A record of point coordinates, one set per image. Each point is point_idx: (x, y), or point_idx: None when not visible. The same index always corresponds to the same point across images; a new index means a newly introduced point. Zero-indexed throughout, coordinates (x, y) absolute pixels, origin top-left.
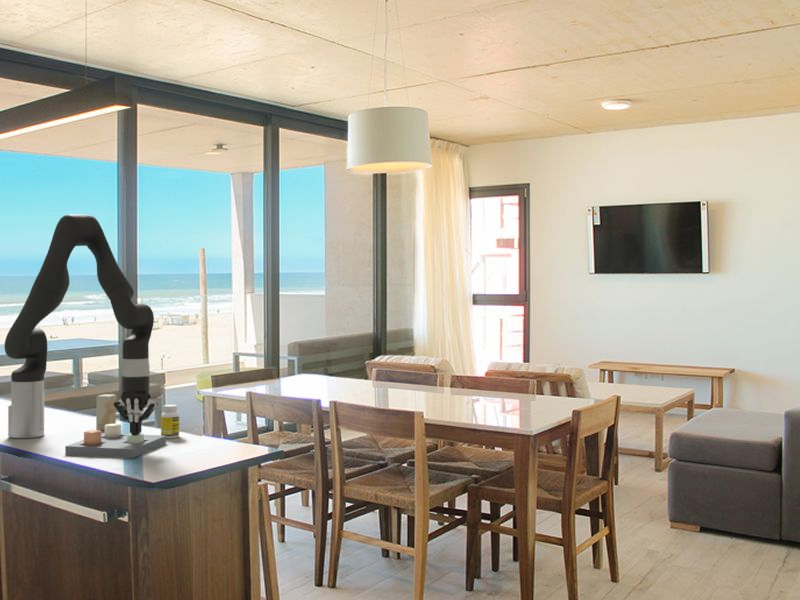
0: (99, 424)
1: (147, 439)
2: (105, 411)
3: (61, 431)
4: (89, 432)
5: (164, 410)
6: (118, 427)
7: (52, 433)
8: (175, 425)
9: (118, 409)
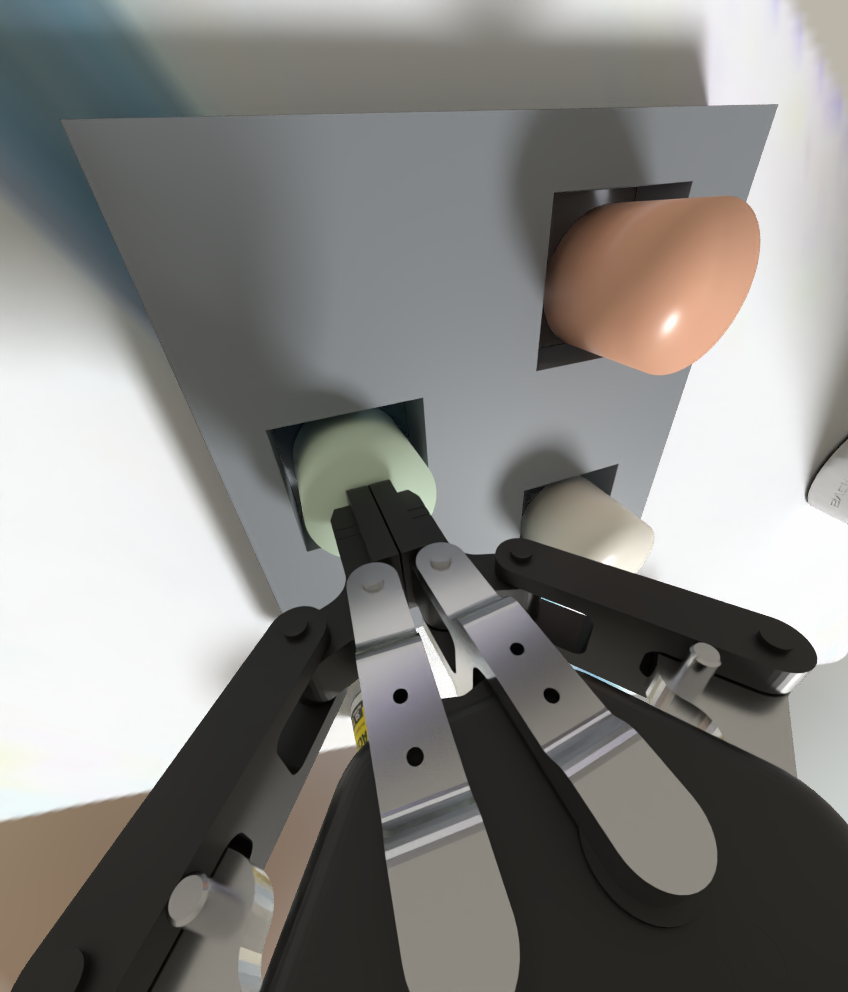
0: None
1: (329, 559)
2: None
3: (758, 556)
4: (714, 242)
5: None
6: None
7: (781, 526)
8: None
9: (665, 598)
